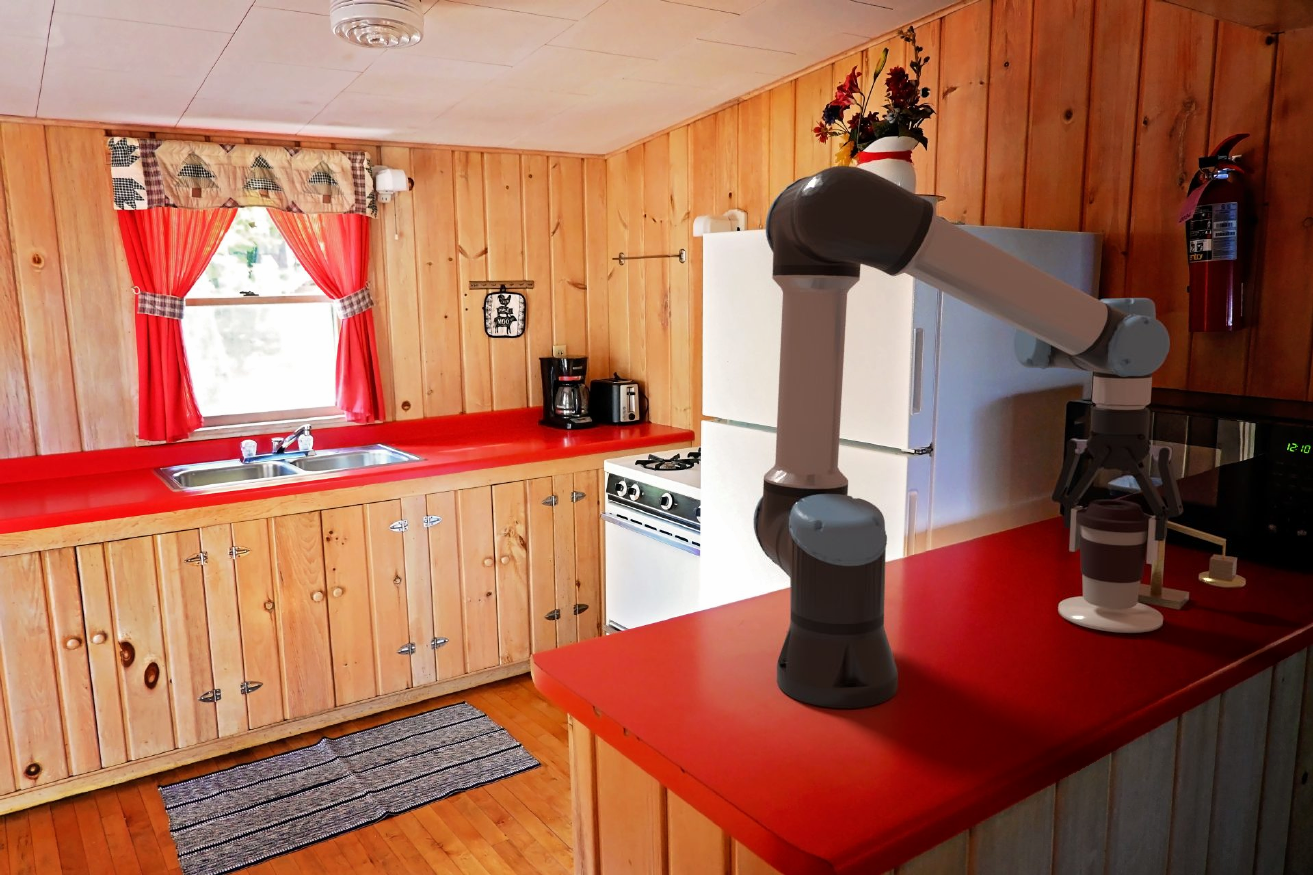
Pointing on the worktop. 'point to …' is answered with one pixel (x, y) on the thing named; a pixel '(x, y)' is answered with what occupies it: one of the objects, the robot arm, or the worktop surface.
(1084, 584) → the coffee cup
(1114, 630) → the saucer
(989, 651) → the worktop surface
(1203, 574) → the balance
